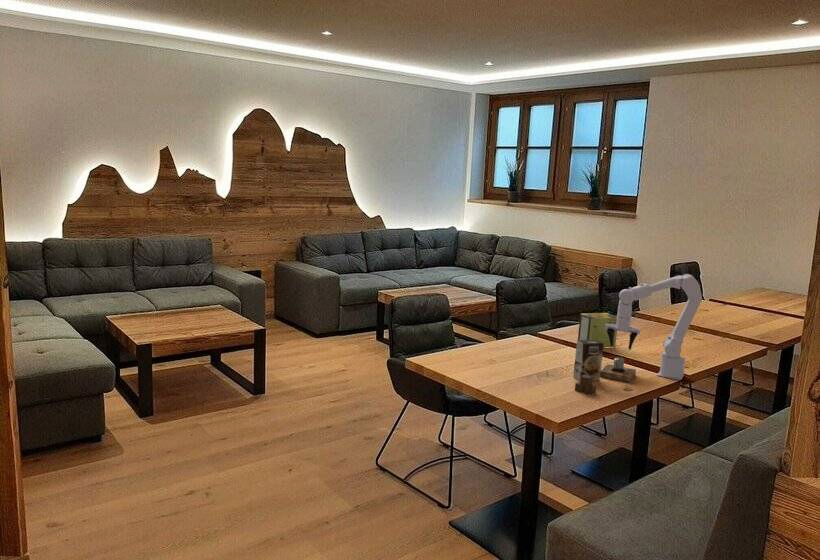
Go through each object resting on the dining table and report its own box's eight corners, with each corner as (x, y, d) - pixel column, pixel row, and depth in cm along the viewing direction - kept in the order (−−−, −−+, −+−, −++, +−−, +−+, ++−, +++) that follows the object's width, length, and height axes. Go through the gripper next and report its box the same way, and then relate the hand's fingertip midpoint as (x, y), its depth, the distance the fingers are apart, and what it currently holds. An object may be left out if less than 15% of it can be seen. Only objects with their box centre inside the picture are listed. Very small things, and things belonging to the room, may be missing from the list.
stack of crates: (612, 392, 251) (614, 376, 250) (595, 402, 240) (596, 384, 239) (577, 383, 261) (579, 367, 260) (559, 391, 250) (561, 374, 249)
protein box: (615, 348, 313) (619, 317, 310) (587, 349, 309) (590, 318, 306) (604, 342, 323) (607, 312, 320) (576, 343, 319) (579, 313, 316)
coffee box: (580, 381, 261) (584, 343, 258) (572, 376, 267) (576, 339, 264) (600, 380, 263) (604, 343, 260) (592, 375, 269) (595, 338, 266)
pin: (623, 373, 271) (624, 358, 270) (622, 376, 268) (623, 360, 266) (613, 372, 273) (615, 356, 272) (612, 375, 269) (613, 359, 268)
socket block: (635, 375, 272) (635, 369, 272) (629, 382, 262) (629, 377, 262) (606, 369, 278) (607, 364, 278) (599, 376, 268) (600, 371, 268)
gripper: (643, 318, 275) (639, 348, 278) (609, 312, 282) (606, 342, 285) (640, 321, 269) (636, 352, 272) (605, 315, 276) (602, 345, 279)
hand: (620, 347), depth 278 cm, fingers open, 7 cm apart
